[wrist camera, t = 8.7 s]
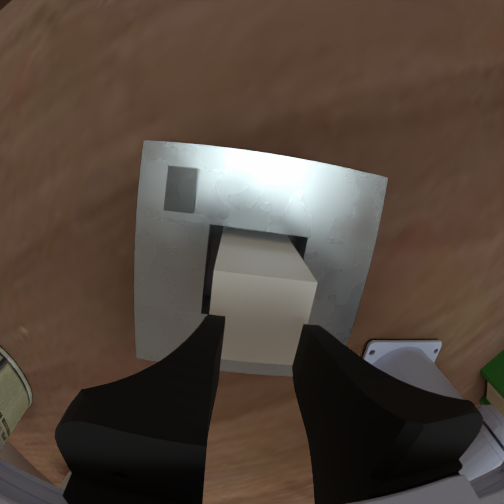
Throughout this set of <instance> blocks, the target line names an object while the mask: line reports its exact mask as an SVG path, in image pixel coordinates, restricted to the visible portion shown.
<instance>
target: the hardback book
mask: <svg viewBox="0 0 504 504" xmlns="http://www.w3.org/2000/svg"><path fill="white" fill-rule="evenodd" d="M481 375H482V376H483V377H484V378H485V379H486V380H487V394H486V395H485V396H483V397H482V398H481V399H480V404H481V405H483V404H484V405H485V406H486V405H493V406H494V407H495V408H496V409H497V410H498V411H499V412H500V413H501V414H502V416H503V417H504V350H503V351H502V352H501V353H499V354H498V355H497V356H496V357H495V358H494V359H493V360H491V361H490V362H489V363H488V364H487V365H485V366H484V367H483V368H482V369H481Z"/></svg>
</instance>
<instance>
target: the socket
mask: <svg viewBox="0 0 504 504" xmlns="http://www.w3.org/2000/svg"><path fill="white" fill-rule="evenodd" d="M387 181H388V178H386V177H382V176H378V175H374V174H370V173H366V172H362V171H357V170H353V169H349V168H344V167H339V166H335V165H330V164H325V163H320V162H315V161H310V160H304V159H299V158H293V157H288V156H282V155H276V154H269V153H263V152H256V151H249V150H242V149H234V148H226V147H217V146H208V145H199V144H188V143H177V142H163V141H148V140H144V144H143V152H142V160H141V169H140V178H139V189H138V201H137V215H136V232H135V259H134V314H135V340H136V357H137V358H139V359H145V360H150V361H156V362H159V361H160V360H162V359H163V358H165V357H166V356H167V355H169V354H170V353H171V352H173V351H174V350H175V349H176V348H177V347H179V346H180V345H181V344H182V343H183V342H184V341H185V340H186V339H187V338H188V337H189V336H190V335H191V334H192V333H193V332H194V331H195V330H196V329H197V327H198V326H199V325H200V324H201V322H202V321H203V320H204V318H205V317H206V316H207V315H208V314H209V311H210V301H211V291H212V282H213V273H214V267H215V263H216V258H217V254H218V250H219V246H220V241H221V237H222V233H223V229H224V227H227V228H235V229H242V230H250V231H257V232H265V233H272V234H279V235H287V236H288V238H289V239H290V241H291V242H292V244H293V246H294V247H295V249H296V250H297V252H298V253H299V255H300V256H301V258H302V259H303V261H304V262H305V264H306V265H307V267H308V268H309V270H310V272H311V273H312V275H313V276H314V278H315V279H316V281H317V282H318V283H317V287H316V292H315V296H314V300H313V304H312V308H311V312H310V316H309V320H308V324H310V325H319V326H321V327H322V328H324V329H325V330H326V331H328V332H329V333H330V334H332V335H333V336H334V337H335V338H337V339H338V340H339V341H340V342H342V343H343V344H344V345H345V346H346V345H347V342H348V339H349V336H350V333H351V330H352V327H353V323H354V320H355V317H356V313H357V310H358V307H359V303H360V300H361V296H362V293H363V289H364V286H365V282H366V278H367V274H368V270H369V266H370V262H371V258H372V254H373V250H374V246H375V241H376V237H377V232H378V228H379V223H380V218H381V213H382V208H383V203H384V198H385V192H386V186H387ZM220 371H226V372H236V373H247V374H259V375H273V376H292V377H293V372H292V365H281V364H267V363H255V362H244V361H234V360H224V359H221V363H220Z"/></svg>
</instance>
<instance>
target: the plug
mask: <svg viewBox="0 0 504 504" xmlns="http://www.w3.org/2000/svg"><path fill="white" fill-rule="evenodd" d="M317 283H318V282H317V281H316V279H315V278H314V276H313V275H312V273H311V272H310V270H309V268H308V267H307V265H306V264H305V262H304V261H303V259H302V258H301V256H300V255H299V253H298V252H297V250H296V249H295V247H294V246H293V244H292V242H291V241H290V239H289V238H288V236H287V235H279V234H272V233H265V232H257V231H250V230H242V229H235V228H227V227H224V229H223V233H222V237H221V241H220V246H219V250H218V254H217V258H216V263H215V267H214V273H213V282H212V291H211V301H210V311H209V314H211V315H219V316H225V329H224V338H223V346H222V354H221V359H224V360H234V361H244V362H255V363H267V364H281V365H293V362H294V358H295V354H296V350H297V347H298V343H299V339H300V335H301V331H302V327H303V324H308V320H309V316H310V312H311V308H312V304H313V300H314V296H315V292H316V287H317Z"/></svg>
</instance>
